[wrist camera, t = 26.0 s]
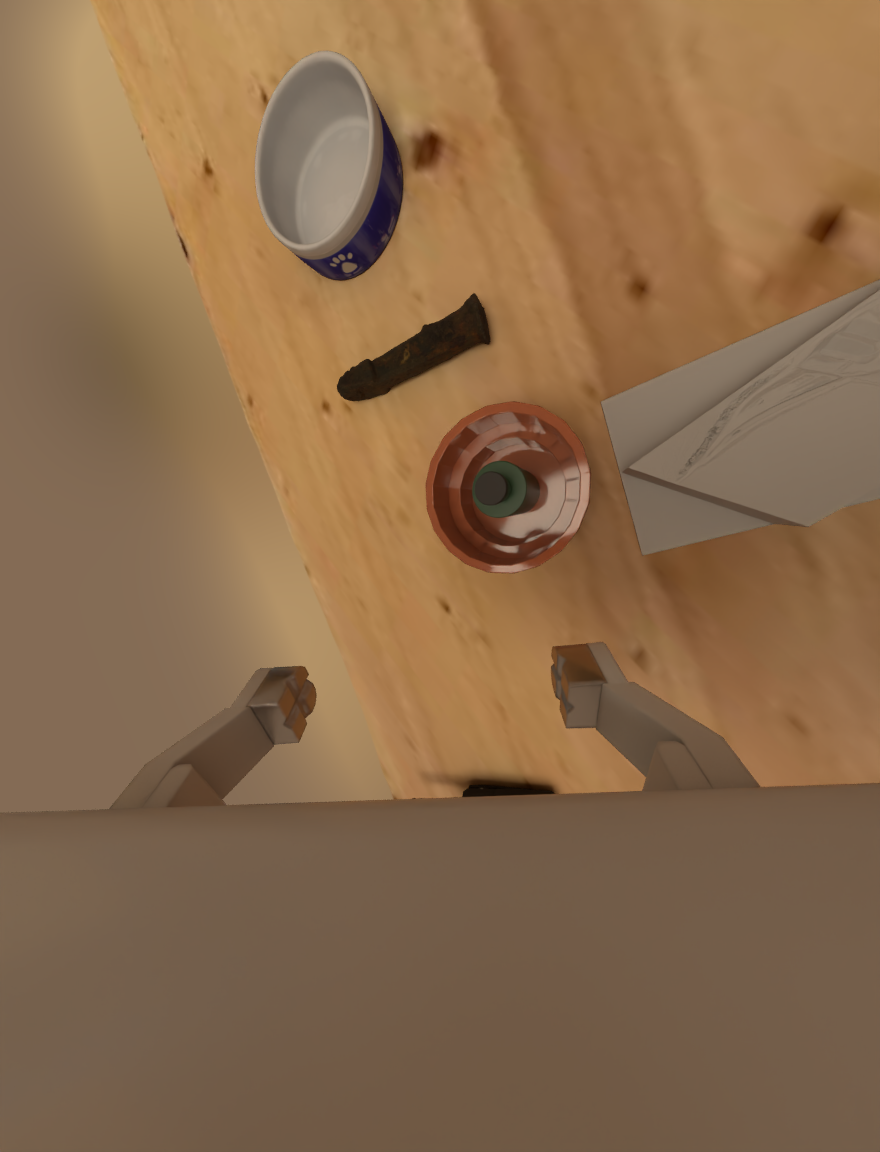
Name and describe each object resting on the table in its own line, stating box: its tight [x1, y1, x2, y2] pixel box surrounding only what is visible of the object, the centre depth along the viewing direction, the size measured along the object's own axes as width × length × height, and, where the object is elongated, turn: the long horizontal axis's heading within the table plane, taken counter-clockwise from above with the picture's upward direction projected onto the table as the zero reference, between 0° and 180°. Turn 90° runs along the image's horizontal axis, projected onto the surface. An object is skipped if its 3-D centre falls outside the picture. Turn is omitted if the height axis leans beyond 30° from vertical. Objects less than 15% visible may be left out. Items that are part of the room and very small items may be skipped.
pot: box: [426, 401, 591, 573], centre depth 34 cm, size 15×15×9 cm
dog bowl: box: [255, 51, 403, 280], centre depth 36 cm, size 15×15×6 cm
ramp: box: [601, 280, 880, 555], centre depth 25 cm, size 28×16×5 cm, turn 110°
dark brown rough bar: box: [337, 293, 490, 401], centre depth 37 cm, size 19×4×5 cm, turn 104°
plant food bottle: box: [472, 461, 540, 518], centre depth 32 cm, size 5×5×12 cm
